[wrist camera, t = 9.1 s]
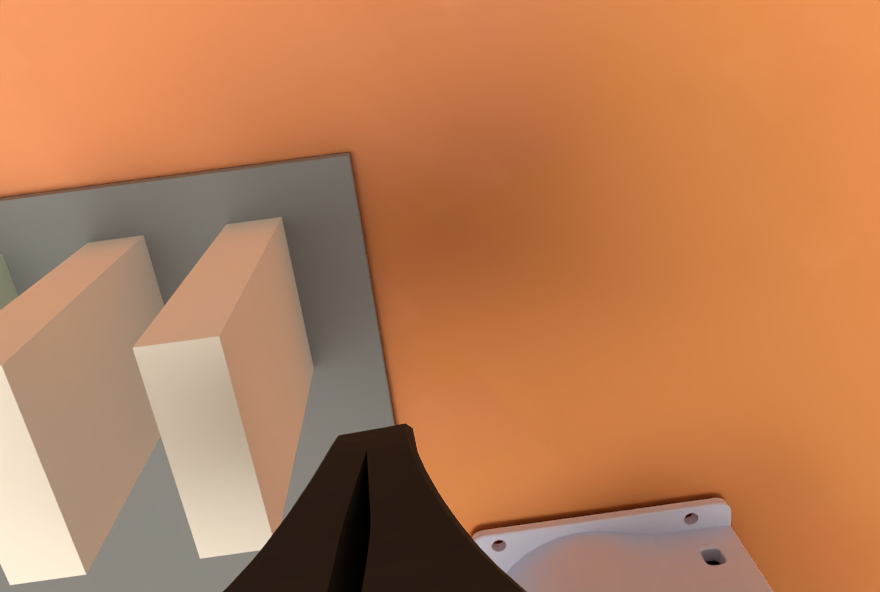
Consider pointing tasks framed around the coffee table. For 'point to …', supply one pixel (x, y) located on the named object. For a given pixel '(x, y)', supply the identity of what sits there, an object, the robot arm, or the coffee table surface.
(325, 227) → the mat
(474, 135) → the coffee table surface
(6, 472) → the domino
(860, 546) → the coffee table surface
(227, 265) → the domino
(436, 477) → the coffee table surface
